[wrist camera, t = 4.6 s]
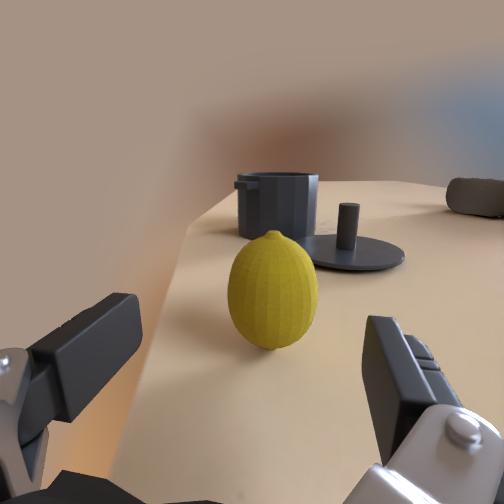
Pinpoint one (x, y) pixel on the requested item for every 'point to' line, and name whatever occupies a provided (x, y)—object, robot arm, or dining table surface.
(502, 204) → the rock
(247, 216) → the pot
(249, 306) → the lemon
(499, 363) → the dining table surface
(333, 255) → the pot lid
